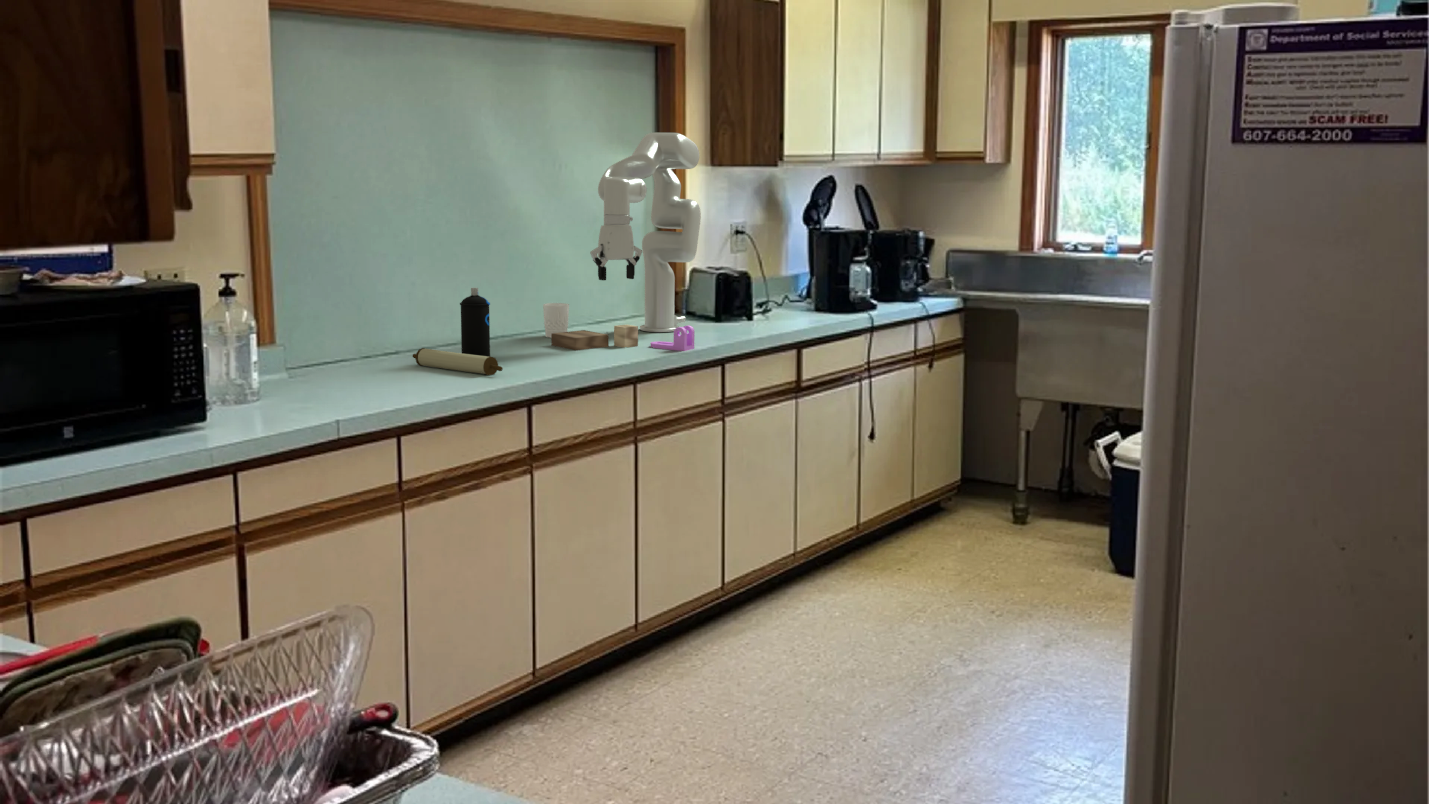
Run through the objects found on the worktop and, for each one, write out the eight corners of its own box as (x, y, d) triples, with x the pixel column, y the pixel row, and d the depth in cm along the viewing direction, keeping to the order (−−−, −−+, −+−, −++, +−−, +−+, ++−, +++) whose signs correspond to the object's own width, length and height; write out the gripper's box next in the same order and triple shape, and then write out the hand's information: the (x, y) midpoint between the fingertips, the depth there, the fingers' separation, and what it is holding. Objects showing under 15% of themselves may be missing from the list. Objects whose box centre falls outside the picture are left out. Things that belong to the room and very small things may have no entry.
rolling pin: (405, 366, 367) (405, 347, 366) (421, 363, 372) (420, 345, 371) (494, 378, 350) (494, 359, 349) (509, 376, 354) (509, 356, 353)
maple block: (627, 344, 411) (627, 324, 410) (637, 346, 407) (637, 326, 406) (614, 345, 408) (614, 325, 406) (624, 347, 404) (624, 327, 403)
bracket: (694, 349, 404) (694, 325, 403) (684, 351, 399) (684, 327, 398) (657, 345, 410) (657, 322, 409) (646, 347, 406) (647, 324, 404)
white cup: (571, 335, 428) (571, 303, 426) (566, 338, 420) (566, 306, 418) (546, 334, 428) (546, 302, 427) (540, 338, 421) (540, 305, 419)
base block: (583, 343, 414) (583, 330, 413) (608, 348, 406) (608, 334, 405) (551, 346, 406) (551, 333, 405) (575, 351, 398) (575, 338, 397)
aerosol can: (465, 363, 371) (464, 290, 367) (456, 359, 378) (455, 286, 374) (495, 361, 375) (494, 288, 371) (485, 357, 382) (484, 285, 378)
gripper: (634, 219, 409) (634, 277, 412) (584, 220, 399) (584, 279, 402) (648, 221, 403) (647, 279, 406) (598, 221, 393) (598, 281, 396)
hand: (616, 279), depth 404 cm, fingers open, 9 cm apart
